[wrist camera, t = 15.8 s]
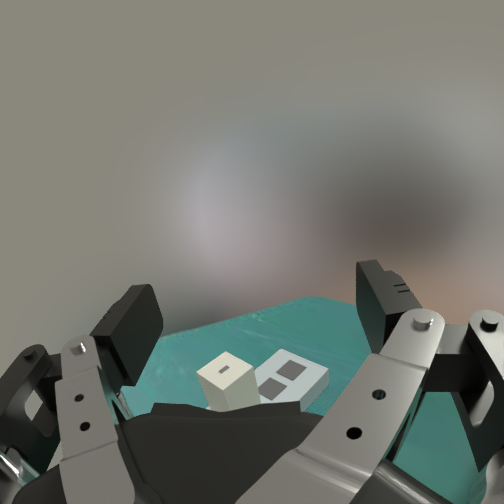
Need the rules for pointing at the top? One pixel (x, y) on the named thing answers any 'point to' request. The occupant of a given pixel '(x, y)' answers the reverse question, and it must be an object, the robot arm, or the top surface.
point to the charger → (229, 383)
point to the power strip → (290, 379)
